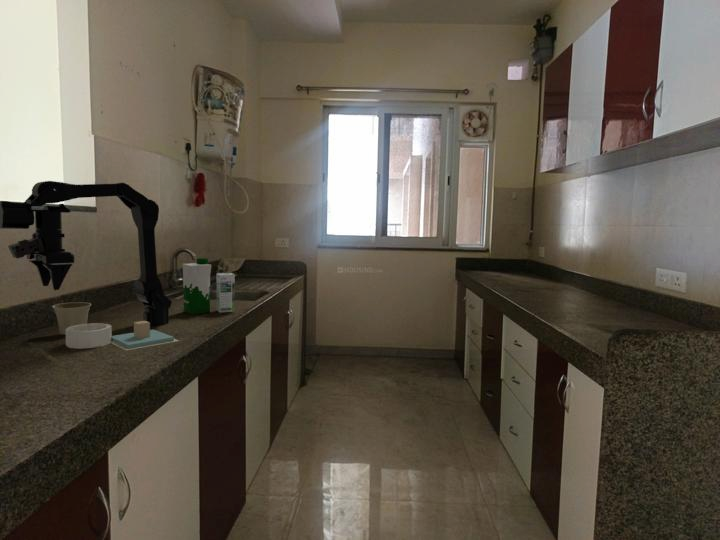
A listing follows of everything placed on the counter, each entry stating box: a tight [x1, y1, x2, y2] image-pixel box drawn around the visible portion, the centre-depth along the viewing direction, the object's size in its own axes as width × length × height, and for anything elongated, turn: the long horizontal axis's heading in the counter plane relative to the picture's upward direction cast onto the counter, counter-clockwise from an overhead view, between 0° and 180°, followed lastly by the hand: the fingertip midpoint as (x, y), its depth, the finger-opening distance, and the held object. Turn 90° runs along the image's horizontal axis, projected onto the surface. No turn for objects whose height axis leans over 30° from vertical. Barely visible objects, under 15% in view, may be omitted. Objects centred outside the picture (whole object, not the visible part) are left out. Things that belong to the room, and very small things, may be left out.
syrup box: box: [216, 272, 236, 314], centre depth 170 cm, size 6×6×14 cm
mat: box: [110, 338, 180, 351], centre depth 122 cm, size 14×14×1 cm
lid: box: [112, 320, 175, 349], centre depth 122 cm, size 12×12×5 cm
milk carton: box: [182, 257, 212, 315], centre depth 166 cm, size 9×9×20 cm
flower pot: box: [52, 301, 92, 335], centre depth 129 cm, size 9×9×9 cm
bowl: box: [65, 322, 113, 350], centre depth 118 cm, size 10×10×5 cm
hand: (50, 287), depth 120 cm, fingers open, 9 cm apart
